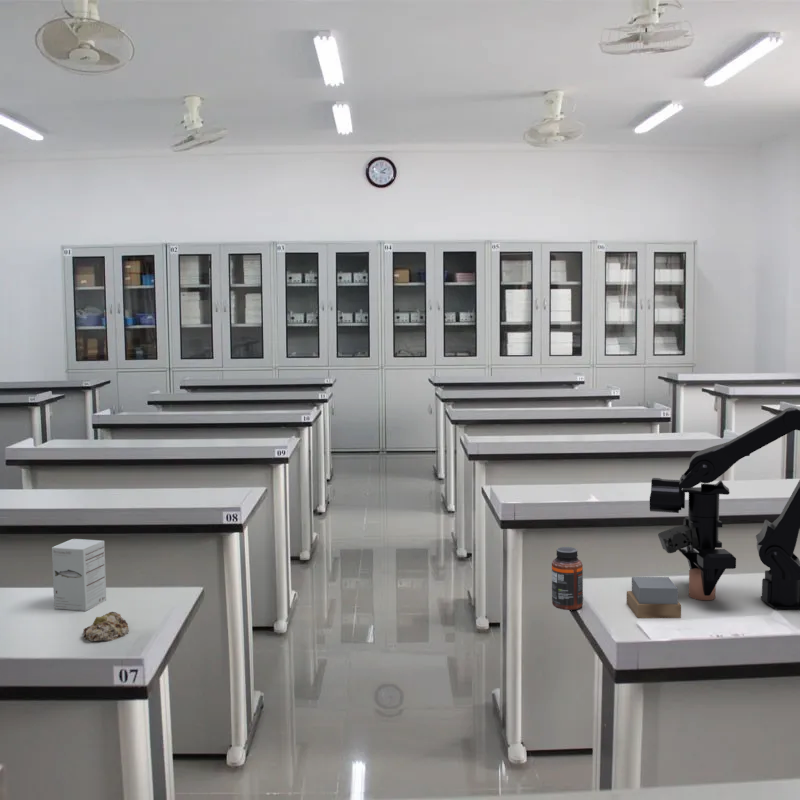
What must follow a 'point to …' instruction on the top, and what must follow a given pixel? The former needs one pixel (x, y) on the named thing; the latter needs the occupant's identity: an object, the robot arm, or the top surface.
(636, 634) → the top surface
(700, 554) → the robot arm
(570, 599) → the supplement bottle
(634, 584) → the tower top
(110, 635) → the mineral rock
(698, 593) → the brick cylinder
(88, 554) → the supplement box
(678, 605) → the tower base
